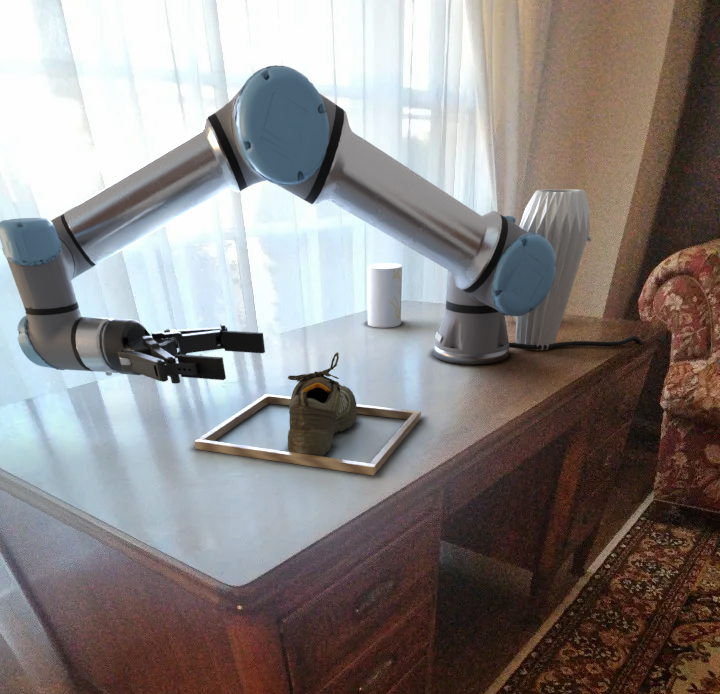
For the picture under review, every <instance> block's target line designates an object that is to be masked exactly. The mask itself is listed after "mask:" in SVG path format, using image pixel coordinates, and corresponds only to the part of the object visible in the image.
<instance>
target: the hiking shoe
mask: <svg viewBox="0 0 720 694" xmlns="http://www.w3.org/2000/svg"><path fill="white" fill-rule="evenodd" d="M339 355H340V353H339V352H337V351H336V352H335V353H334V355H333V357H332V358H331V363H330V366H329V368H327V369H323V370H322V371H314V372H310V373H303V374H297V375H288V376H287V379H288V380H289V381H296V382H297V384H296V385H295V386H294V388H293V390H292V392H291V396H290V397H291V401H290V406H288V409H289V412H288V413H289V430H288V433H287V450H288V451H287V452H293V453H300V454H307V455H314V456H321V457H325V456H326V454H328V453H329V452H330V451H331V448H332V446H333V442H334V435H335V434H337V433H341V432H344V431H347V430H349V429H350V428H351V427H353V426H354V424H355V422H356V420H357V405H356V404H357V400H356V396H355V395H354V392H353V391H352V390H351V388H349V387H348V386H345V385H341V383H339V381H336V380H340V378H339V377H338V376H335V375H333V374H331V373H330V372H331V371H333V370H334V368H336V367H337V366H338V362H339V359H340V357H339ZM330 377H332V378H334V379H336V380H334V379H332V378H330Z"/></svg>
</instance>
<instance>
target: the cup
mask: <svg viewBox="0 0 720 694" xmlns="http://www.w3.org/2000/svg"><path fill="white" fill-rule="evenodd" d="M366 267H367V268H366V275H367V276H366V277H367V278H366V280H367V290H366V291H367V325H368V326H369V327H371V328H372V327H373V328H381V329H382V328H383V329H384V328H394V327H399V326H400V325H402V295H403V293H402V291H403V290H402V289H403V265H402V264H400V263H393V262H381V263H372V264H368V265H367V266H366Z"/></svg>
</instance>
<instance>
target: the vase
mask: <svg viewBox="0 0 720 694" xmlns="http://www.w3.org/2000/svg"><path fill="white" fill-rule="evenodd" d="M518 226H519V227H520V228H522V229H524V230H525V231H527V232H529V233H535V234H536V233H537V234H540V235H542V236H543V237H544V238H545V239H546V240H548V241H549V243H550V244H551V245H552V247H553V250H554V252H555V256H556V272H555V277H554V281H553V284H552V286H551V289H550V291H549V292H548V294H547V296H546V297H545V299H544V300H543V301H542V303H541V304H540V305H539V306H538V307H537V308H535V309H534V310H533V311H531V312H529V313H527V314H525V315H522V316H516V322H515V335H514V336H515V339H514V343H520V344H528V345H537V347H538V346H539V345H541V346H542V349H540V350H538V349H536V350H535V351H544V350H546V351H547V350H550V349H552V348H550V349H548V347H549V344H553V343H556V342H557V341H556V340H557V338H558V334H559V331H560V328H561V325H562V322H563V318H564V316H565V312H566V309H567V305H568V302H569V299H570V295H571V292H572V289H573V287H574V282H575V280H576V278H577V277H576V276H577V273H578V270H579V267H580V264H581V260H582V258H583V253H584V251H585V248H586V244H587V241H588V237H589V234H590V232H591V207H590V204H589V200H588V197H587V192H586V190H584V189H578V188H577V189H576V188H575V189H573V188H551V189H550V188H549V189H537V190H535V192H534V193H533V195H532V197H531V198H530V200H529V201H528V203H527V204H526V207H525V208H524V211H523V214H522V217H521V221H520V223H519V225H518ZM544 345H546V346H547V348H546V349H543V348H544ZM524 350H525V351H526V350H527V349H524ZM528 350H529V351H531V350H530V349H528Z"/></svg>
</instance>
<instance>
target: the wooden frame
mask: <svg viewBox="0 0 720 694" xmlns="http://www.w3.org/2000/svg"><path fill="white" fill-rule="evenodd" d="M290 401H291V396H288V395H280V394H279V395H277V394H269V393H264V394H263V395H262V396H260V397H259V398H257V399H256V400H254V401H252V402H251V403H249V404H248V405H246V406H245V407H244V408H242V409H241V410H239V411H238V412H236V413H235V414H233V415H232V416H230V417H228V418H227V419H225V420H224V421H223V422H221V423H220V424H218V425H216V426H215V427H214V428H212V429H210V430H209V431H208V432H206V433H205V434H203V435H201V436H200V437H198V438H197V439H196V440H194V441H193V442H194V446H195V450H201V451H205V452H213V453H220V454H226V455H227V454H228V455H233V456H241V457H246V458H247V457H248V458H253V459H260V460H267V461H274V462H280V463H286V464H293V465H300V466H306V467H307V466H308V467H314V468H320V469H327V470H333V471H341V472H345V473H346V472H347V473H353V474H360V475H366V476H372V477H373V476H375V475H376V474H377V472H378V471H379V470H380V469H381V468H382V466H383V465H384V464H385V463H386V461H388V460H389V458H390V457H391V456H392V455H393V453H394V452H395V451H396V449H397V448H398V447H399V445H400V444H402V442H403V441H405V439H406V437H407V436H409V434H410V432H411V431H412V430H413V429H414V427H415V426H416V425H417V424H418V422H420V420H421V419H422V418H421V417H422V412H421V411H419V410H411V409H403V408H394V407H385V406H375V405H367V404H359V403H358V404H357V403H356V405H357V414H358V415H366V416H373V417H374V416H375V417H382V418H392V419H399V420H405V422H404V423H403V424H402V425H401V426H400V428H399V429H398V430H397V431H396V432H395V433H394V434H393V435H392V437H391V438H389V440H388V442H386V444H385V445H384V446H383V447H382V448H381V449H380V451H379V452H378V453H377V454H376V455H375V456H374V458H373V459H372V460H371V461H370V462H369V463H368V462H362V461H355V460H348V459H341V458H334V457H327V456H314V455H307V454H300V453H293V452H289V451H287V450H286V451H285V450H278V449H272V448H264V447H257V446H251V445H243V444H238V443H230V442H223V441H216V440H218V439H219V438H220V437H222V436H223V435H225V434H226V433H228V432H229V431H231V430H232V429H233V428H235V427H237V426H238V425H240V424H241V423H242V422H244V421H245V420H247V419H248V418H249V417H251V416H253V415H255V413H257V412H258V411H259V410H261V409H262V408H264V407H265V406H267V405H268V404H274V405H280V406H281V405H282V406H288V407H290ZM357 414H356V415H357Z"/></svg>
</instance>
